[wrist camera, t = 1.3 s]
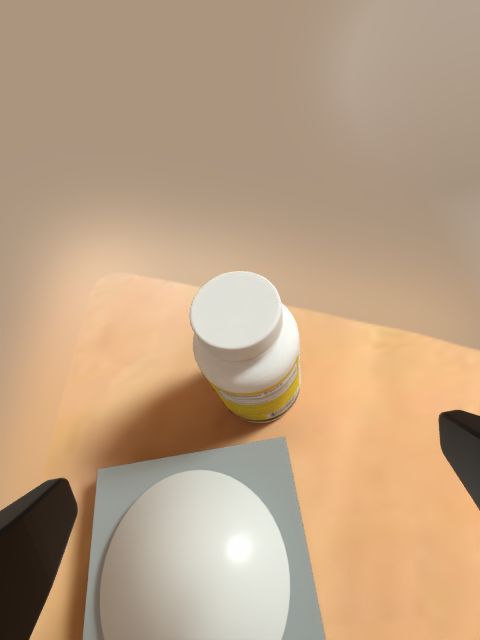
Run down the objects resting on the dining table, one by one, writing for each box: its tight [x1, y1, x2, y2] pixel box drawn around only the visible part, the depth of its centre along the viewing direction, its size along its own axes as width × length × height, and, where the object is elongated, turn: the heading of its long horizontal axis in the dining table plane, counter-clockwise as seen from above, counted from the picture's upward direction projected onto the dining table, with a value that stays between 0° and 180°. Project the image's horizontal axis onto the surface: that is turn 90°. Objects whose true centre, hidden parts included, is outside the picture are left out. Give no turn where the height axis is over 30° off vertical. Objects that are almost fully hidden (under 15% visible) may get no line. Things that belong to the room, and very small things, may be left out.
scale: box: [83, 437, 326, 640], centre depth 16 cm, size 14×11×3 cm
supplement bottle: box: [190, 271, 300, 423], centre depth 18 cm, size 5×5×10 cm
